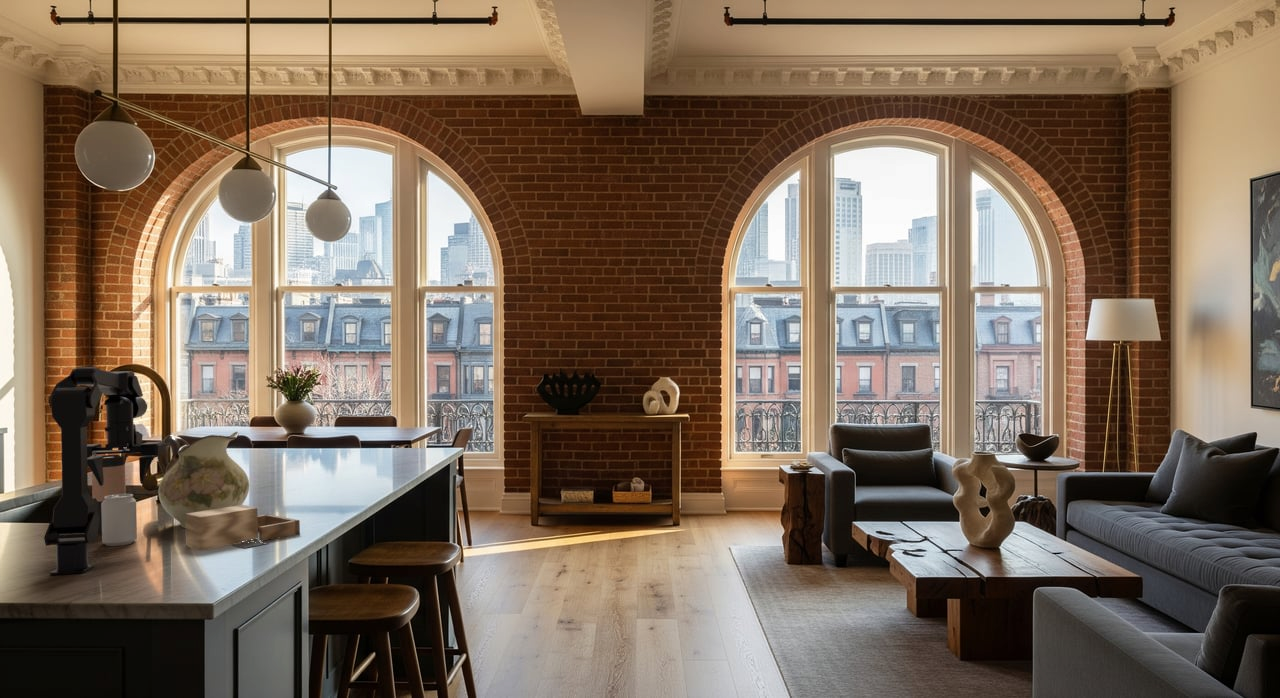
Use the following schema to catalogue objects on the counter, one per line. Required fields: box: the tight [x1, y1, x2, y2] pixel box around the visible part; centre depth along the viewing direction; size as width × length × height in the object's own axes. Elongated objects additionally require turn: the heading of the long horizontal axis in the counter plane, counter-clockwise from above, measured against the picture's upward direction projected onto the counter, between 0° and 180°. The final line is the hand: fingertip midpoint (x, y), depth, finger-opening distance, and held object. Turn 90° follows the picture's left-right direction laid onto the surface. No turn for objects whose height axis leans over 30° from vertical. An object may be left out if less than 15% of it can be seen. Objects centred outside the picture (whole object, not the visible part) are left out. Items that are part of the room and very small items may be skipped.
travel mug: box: [91, 454, 127, 535], centre depth 233 cm, size 8×8×20 cm
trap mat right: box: [231, 539, 267, 549], centre depth 214 cm, size 6×6×1 cm
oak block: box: [185, 504, 259, 551], centre depth 217 cm, size 14×8×8 cm, turn 142°
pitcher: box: [157, 431, 250, 529], centre depth 241 cm, size 22×24×25 cm
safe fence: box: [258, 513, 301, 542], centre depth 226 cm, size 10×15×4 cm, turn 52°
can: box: [101, 493, 138, 547], centre depth 218 cm, size 8×8×12 cm
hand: (122, 484), depth 218 cm, fingers open, 9 cm apart
